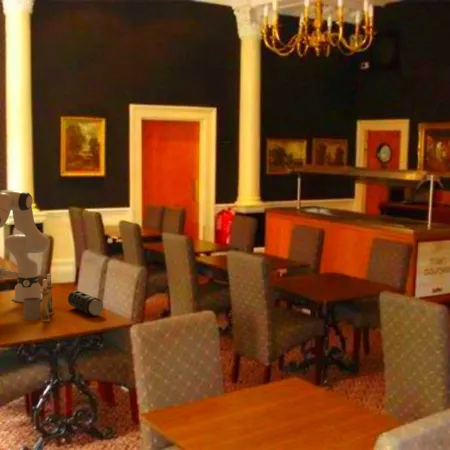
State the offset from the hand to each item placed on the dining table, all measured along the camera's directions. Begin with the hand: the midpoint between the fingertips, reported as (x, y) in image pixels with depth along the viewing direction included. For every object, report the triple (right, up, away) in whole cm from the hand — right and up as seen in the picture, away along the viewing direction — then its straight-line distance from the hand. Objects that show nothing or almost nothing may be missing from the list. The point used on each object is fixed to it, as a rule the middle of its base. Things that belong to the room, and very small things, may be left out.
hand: (24, 275), depth 366 cm
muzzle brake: (+29, -22, +14) cm, 39 cm away
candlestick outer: (+13, -23, -5) cm, 27 cm away
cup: (+4, -23, +2) cm, 23 cm away
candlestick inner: (+11, -21, +11) cm, 26 cm away
